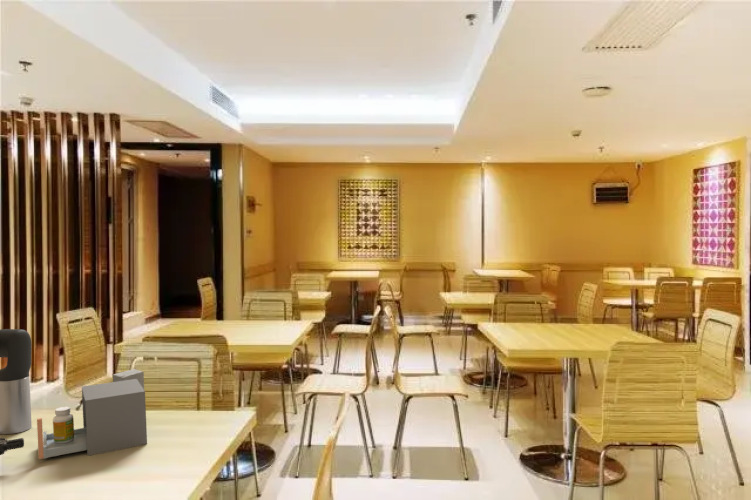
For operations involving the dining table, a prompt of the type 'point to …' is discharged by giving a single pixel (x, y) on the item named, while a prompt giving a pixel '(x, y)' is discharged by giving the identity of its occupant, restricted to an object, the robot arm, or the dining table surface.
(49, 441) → the drawer
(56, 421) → the supplement bottle
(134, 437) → the cabinet
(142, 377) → the skincare box
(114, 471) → the dining table surface
